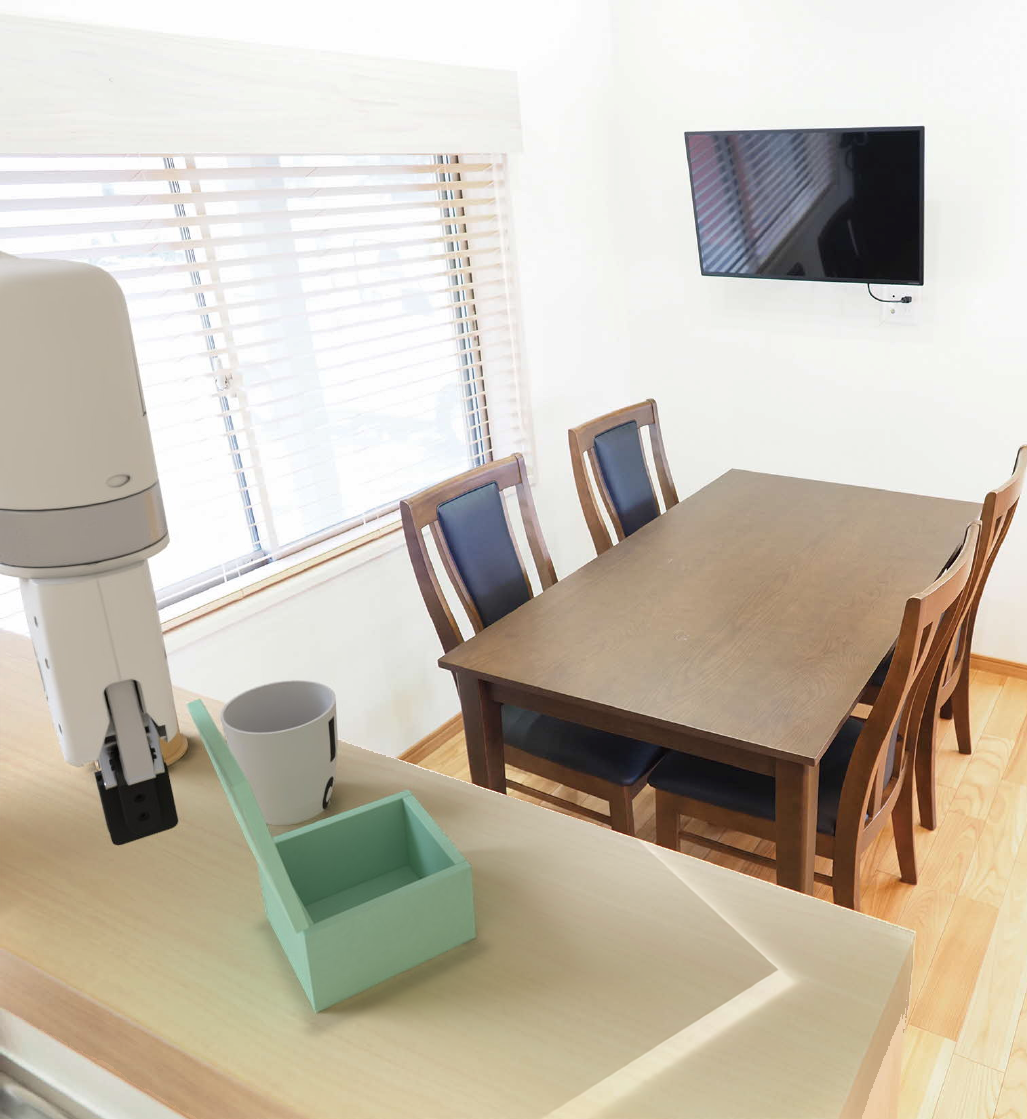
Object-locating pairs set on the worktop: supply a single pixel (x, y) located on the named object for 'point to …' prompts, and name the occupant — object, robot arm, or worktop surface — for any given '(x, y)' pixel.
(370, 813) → the mint green lidded box
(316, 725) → the cup
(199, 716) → the lid
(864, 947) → the worktop surface
